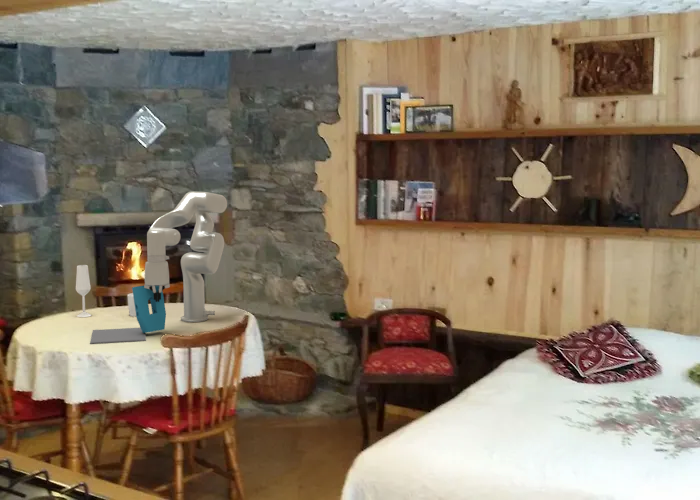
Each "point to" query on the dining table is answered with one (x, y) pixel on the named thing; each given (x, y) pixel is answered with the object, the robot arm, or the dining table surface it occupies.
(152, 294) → the block
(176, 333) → the dining table surface
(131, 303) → the white cup
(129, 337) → the gray square mat
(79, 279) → the champagne flute
